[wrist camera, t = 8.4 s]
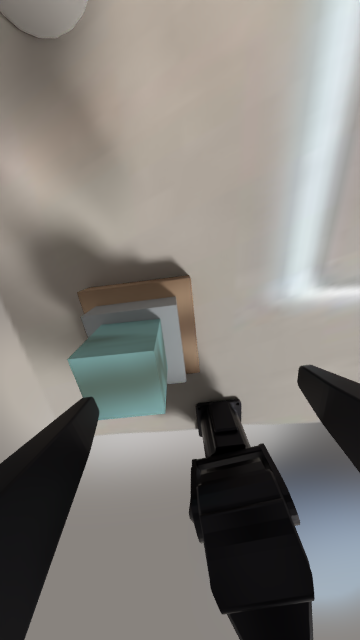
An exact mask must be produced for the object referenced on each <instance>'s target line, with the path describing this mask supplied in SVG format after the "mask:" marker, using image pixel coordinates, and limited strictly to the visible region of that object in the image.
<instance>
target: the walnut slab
mask: <svg viewBox="0 0 360 640" xmlns="http://www.w3.org/2000/svg"><path fill="white" fill-rule="evenodd" d="M77 294H78V297H79V300H80V303H81V306H82V309H83V312H84V314H85V313H87V312H88V311H90V310H91V309H93V308H94V307H96V306H103V305H111V304H119V303H127V302H135V301H143V300H151V299H159V298H167V297H175V296H176V301H177V309H178V316H179V324H180V332H181V339H182V347H183V355H184V363H185V372H186V374H190V373H198V372H200V370H199V360H198V349H197V339H196V329H195V318H194V308H193V297H192V287H191V278H190V276H189V275H186V276H178V277H171V278H163V279H155V280H147V281H139V282H131V283H123V284H115V285H107V286H100V287H92V288H87V289H84V290H82V291H79V292H77Z"/></svg>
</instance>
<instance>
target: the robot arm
mask: <svg viewBox="0 0 360 640" xmlns="http://www.w3.org/2000/svg"><path fill="white" fill-rule="evenodd" d="M297 382H298V386H299V388H300V389H301V391H302V393H303V394H304V396H305V397H306V399H307V400H308V402H309V404H310V405H311V407H312V408H313V410H314V411H315V413H316V415H317V416H318V418H319V419H320V421H321V422H322V424H323V425H324V426H325V427H326V429H327V430H328V432H329V433H330V434H331V436H332V437H333V438H334V439H335V440H336V442H337V443H338V445H339V446H340V447H341V449H342V450H343V451H344V453H345V454H346V455H347V456H348V458H349V459H350V460H351V461H352V463H353V464H354V466H355V467H356V468H357V470H358V471H359V472H360V383H357V382H354V381H352V380H349V379H347V378H344V377H341V376H339V375H336V374H334V373H331V372H328V371H326V370H323V369H321V368H318V367H315V366H313V365H304V366H300V367H299V371H298V380H297ZM196 413H197V422H198V430H199V436H201V437H203V443H204V450H205V457H206V458H202V459H193V460H192V468H191V499H190V507H189V516H190V519H191V520H192V522H193V523H194V525H195V528H196V533H197V536H198V539H199V542H200V543H204V547H205V553H206V559H207V566H208V571H209V577H210V586H211V590H212V593H213V596H214V598H215V600H216V603H217V605H218V607H219V609H220V612H221V613H222V614H227V615H228V617H229V619H230V621H231V623H232V625H233V627H234V629H235V631H236V633H237V635H238V637H239V639H240V640H313V623H312V601H314V587H313V578H312V572H311V570H310V565H309V561H308V558H307V556H306V553H305V551H304V549H303V546H302V543H301V541H300V538H299V536H298V533H297V531H296V528H295V526H296V525H300V520H299V517H298V514H297V511H296V508H295V506H294V503H293V500H292V498H291V496H290V493H289V492H288V489H287V487H286V485H285V482H284V481H283V478H282V477H281V475H280V473H279V471H278V470H277V467H276V466H275V464H274V462H273V460H272V458H271V457H270V455H269V453H268V451H267V449H266V447H265V445H264V444H259V445H258V446H254V447H250V444H249V442H248V439H247V437H246V434H245V432H244V429H243V426H242V424H241V401H240V400H239V399H234V400H226V401H217V402H208V403H199V404H197V405H196ZM98 418H99V408H98V406H97V404H96V402H95V399H94V398H93V397H84V398H82V399H80V400H79V401H78V402H77V403H75V404H74V405H73V406H72V407H70V408H69V409H68V410H67V411H65V412H64V413H63V414H62V415H60V416H59V417H58V418H57V419H55V420H54V421H53V422H52V423H50V424H49V425H48V426H47V427H45V428H44V429H43V430H42V431H40V432H39V433H38V434H37V435H36V436H34V437H33V438H32V439H31V440H29V441H28V442H27V443H26V444H24V445H23V446H22V447H21V448H19V449H18V450H17V451H16V452H14V453H13V454H12V455H11V456H9V457H8V458H7V459H6V460H4V461H3V462H2V463H1V464H0V640H24V639H25V636H26V633H27V631H28V628H29V625H30V622H31V619H32V616H33V613H34V611H35V608H36V605H37V602H38V599H39V596H40V593H41V591H42V588H43V585H44V582H45V579H46V576H47V574H48V570H49V568H50V565H51V562H52V559H53V556H54V553H55V551H56V548H57V545H58V542H59V539H60V536H61V534H62V531H63V528H64V525H65V522H66V519H67V517H68V514H69V511H70V508H71V505H72V502H73V499H74V497H75V493H76V491H77V488H78V485H79V482H80V479H81V477H82V474H83V471H84V468H85V465H86V462H87V459H88V456H89V453H90V450H91V446H92V442H93V438H94V434H95V430H96V426H97V422H98Z"/></svg>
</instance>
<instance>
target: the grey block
mask: <svg viewBox="0 0 360 640" xmlns="http://www.w3.org/2000/svg"><path fill="white" fill-rule="evenodd" d="M81 319H82V322H83V325H84V328H85V331H86V334H87V336H88V338H89V337H90V336H91V335H92V334H93V333H94V332H95V331H96V330H97V329H98V328H99V327H100V326H101V325H104V324H114V323H124V322H133V321H143V320H153V319H160V320H161V326H162V333H163V340H164V346H165V353H166V360H167V366H168V370H167V384H174V383H182V382H186V372H185V363H184V355H183V347H182V339H181V332H180V324H179V316H178V309H177V301H176V296H175V297H167V298H159V299H151V300H143V301H135V302H127V303H119V304H111V305H103V306H96V307H94V308H93V309H91V310H90V311H88V312H87V313H85V314H84V315H82V316H81Z"/></svg>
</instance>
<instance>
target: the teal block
mask: <svg viewBox="0 0 360 640" xmlns="http://www.w3.org/2000/svg"><path fill="white" fill-rule="evenodd" d="M67 360H68V362H69V365H70V367H71V370H72V372H73V374H74V377H75V379H76V382H77V384H78V387H79V389H80V392H81V394H82V397H83V398H84V397H93V398H94V399H95V402H96V404H97V406H98V408H99V418H98V420H105V419H115V418H125V417H135V416H145V415H155V414H165V408H166V389H167V370H168V366H167V360H166V353H165V346H164V340H163V333H162V326H161V320H160V319H153V320H143V321H133V322H124V323H114V324H104V325H101V326H100V327H99V328H98V329H97V330H96V331H95V332H94V333H93V334H92V335H91V336H90V337H89V338H88V339H87V340H86V341H85V342H84V343H83V344H82V345H81V346H80V347H79V348H78V349H77V350H76V351H75V352H74V353H73V354H72V355H71V356H70V357H69V358H68V359H67Z"/></svg>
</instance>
